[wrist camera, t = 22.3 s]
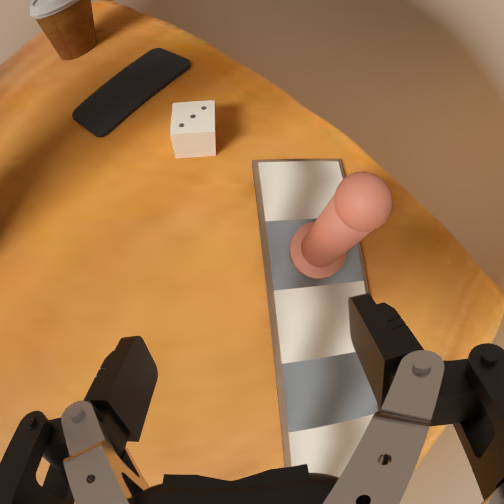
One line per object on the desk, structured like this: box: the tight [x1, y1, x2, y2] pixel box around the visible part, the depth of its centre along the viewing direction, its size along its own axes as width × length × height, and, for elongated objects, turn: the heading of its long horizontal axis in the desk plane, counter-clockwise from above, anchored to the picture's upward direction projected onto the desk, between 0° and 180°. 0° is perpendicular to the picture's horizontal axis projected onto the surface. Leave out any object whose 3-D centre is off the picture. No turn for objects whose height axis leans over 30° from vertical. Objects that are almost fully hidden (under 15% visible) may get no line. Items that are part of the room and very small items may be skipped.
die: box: [170, 100, 216, 158], centre depth 28 cm, size 4×4×4 cm
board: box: [252, 159, 380, 477], centre depth 25 cm, size 9×31×1 cm, turn 6°
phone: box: [72, 48, 190, 137], centre depth 32 cm, size 7×1×15 cm
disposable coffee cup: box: [29, 0, 96, 60], centre depth 28 cm, size 10×10×12 cm
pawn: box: [289, 172, 393, 279], centre depth 21 cm, size 5×5×12 cm
